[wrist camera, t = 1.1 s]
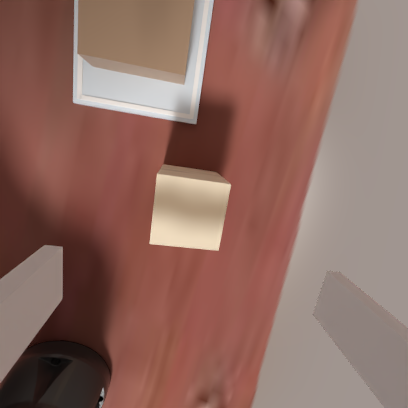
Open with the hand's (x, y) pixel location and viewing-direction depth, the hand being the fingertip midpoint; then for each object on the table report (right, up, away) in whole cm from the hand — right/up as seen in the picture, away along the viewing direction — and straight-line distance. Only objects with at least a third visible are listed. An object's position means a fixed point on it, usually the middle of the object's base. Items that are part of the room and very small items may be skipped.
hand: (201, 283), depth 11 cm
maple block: (-2, +5, +20) cm, 20 cm away
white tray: (-6, +23, +14) cm, 28 cm away
